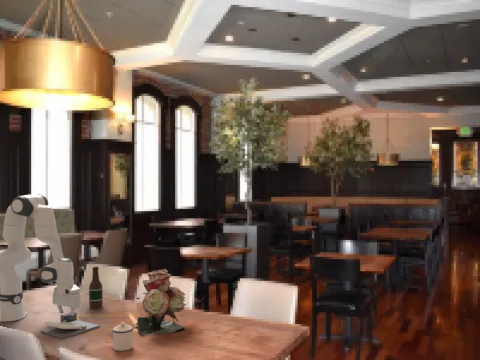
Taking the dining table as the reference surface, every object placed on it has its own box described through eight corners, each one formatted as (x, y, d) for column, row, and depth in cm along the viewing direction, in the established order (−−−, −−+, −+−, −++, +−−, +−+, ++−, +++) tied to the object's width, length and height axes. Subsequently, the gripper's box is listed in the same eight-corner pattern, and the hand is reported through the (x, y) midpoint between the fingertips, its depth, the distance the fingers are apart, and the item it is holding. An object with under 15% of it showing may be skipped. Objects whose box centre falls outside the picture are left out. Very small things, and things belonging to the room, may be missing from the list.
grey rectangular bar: (72, 318, 275) (72, 311, 275) (77, 320, 272) (77, 313, 272) (46, 326, 262) (46, 318, 262) (52, 327, 259) (51, 320, 259)
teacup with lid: (137, 346, 228) (137, 321, 228) (123, 352, 220) (123, 326, 220) (118, 342, 234) (117, 317, 234) (103, 348, 226) (103, 322, 226)
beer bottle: (89, 308, 295) (88, 268, 295) (89, 305, 302) (88, 266, 302) (102, 307, 297) (102, 267, 297) (102, 304, 305) (102, 265, 304)
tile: (45, 321, 251) (45, 324, 250) (62, 326, 243) (62, 329, 242) (65, 321, 260) (64, 324, 260) (82, 326, 252) (82, 328, 252)
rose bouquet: (143, 339, 239) (142, 276, 239) (131, 323, 266) (130, 267, 266) (194, 332, 249) (193, 272, 249) (177, 317, 276) (177, 263, 276)
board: (41, 332, 251) (40, 326, 251) (77, 321, 269) (77, 316, 269) (63, 338, 240) (62, 333, 240) (99, 327, 258) (99, 321, 258)
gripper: (49, 287, 271) (49, 313, 271) (72, 291, 260) (73, 318, 260) (59, 285, 277) (59, 310, 277) (82, 289, 265) (83, 315, 265)
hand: (66, 314), depth 268 cm, fingers open, 8 cm apart
